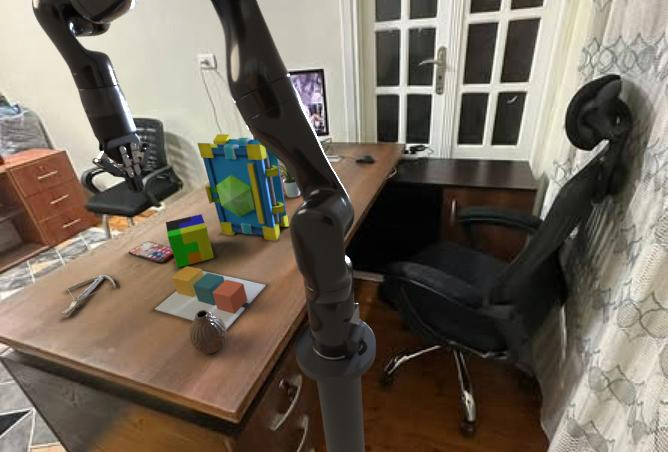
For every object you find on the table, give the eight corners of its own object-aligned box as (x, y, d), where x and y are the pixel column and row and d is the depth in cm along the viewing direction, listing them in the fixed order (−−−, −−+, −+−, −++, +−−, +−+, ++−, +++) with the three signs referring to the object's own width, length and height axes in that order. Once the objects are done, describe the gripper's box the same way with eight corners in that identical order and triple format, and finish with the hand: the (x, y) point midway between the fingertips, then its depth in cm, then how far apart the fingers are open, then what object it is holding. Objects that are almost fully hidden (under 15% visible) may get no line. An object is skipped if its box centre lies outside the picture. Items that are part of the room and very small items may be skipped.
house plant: (266, 201, 134) (258, 160, 126) (280, 187, 145) (274, 149, 138) (300, 203, 130) (294, 161, 122) (312, 189, 141) (308, 149, 133)
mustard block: (206, 285, 90) (201, 269, 87) (193, 297, 86) (187, 281, 83) (191, 281, 92) (186, 266, 89) (177, 293, 88) (171, 277, 85)
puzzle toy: (208, 242, 110) (201, 214, 105) (214, 257, 102) (206, 227, 97) (174, 251, 106) (165, 222, 101) (177, 267, 98) (167, 236, 93)
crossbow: (82, 281, 97) (79, 275, 96) (127, 278, 97) (124, 271, 96) (39, 319, 83) (36, 312, 82) (92, 315, 83) (89, 308, 82)
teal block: (228, 292, 86) (223, 276, 84) (214, 305, 82) (209, 289, 80) (212, 288, 88) (207, 272, 86) (198, 301, 84) (192, 284, 82)
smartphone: (147, 240, 112) (180, 249, 105) (148, 243, 112) (181, 251, 106) (126, 251, 106) (159, 261, 100) (127, 254, 106) (160, 264, 100)
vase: (220, 360, 68) (209, 328, 64) (188, 358, 70) (175, 325, 65) (235, 334, 74) (225, 302, 70) (205, 332, 76) (194, 300, 71)
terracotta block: (247, 300, 83) (243, 283, 81) (234, 314, 79) (229, 297, 77) (230, 295, 85) (226, 279, 83) (217, 309, 81) (212, 292, 79)
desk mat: (265, 285, 88) (265, 284, 88) (225, 330, 75) (225, 329, 75) (201, 271, 96) (201, 270, 96) (155, 309, 83) (154, 308, 83)
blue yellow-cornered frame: (238, 217, 124) (218, 132, 109) (297, 223, 116) (284, 133, 102) (214, 237, 112) (188, 145, 98) (277, 245, 105) (260, 147, 90)
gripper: (88, 118, 62) (124, 206, 71) (148, 104, 73) (173, 182, 81) (62, 118, 65) (99, 202, 74) (123, 104, 76) (149, 179, 84)
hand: (138, 191), depth 77 cm, fingers closed
